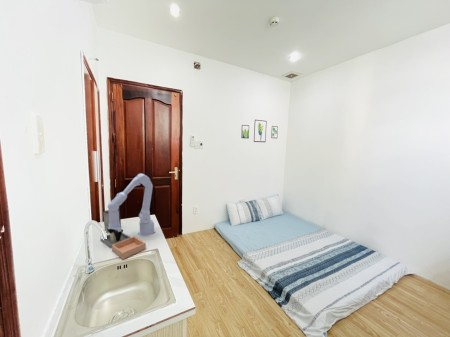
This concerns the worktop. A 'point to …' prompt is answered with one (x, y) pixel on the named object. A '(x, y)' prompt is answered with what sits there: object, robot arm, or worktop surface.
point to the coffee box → (106, 219)
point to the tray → (109, 243)
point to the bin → (128, 247)
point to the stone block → (113, 238)
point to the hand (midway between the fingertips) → (115, 238)
